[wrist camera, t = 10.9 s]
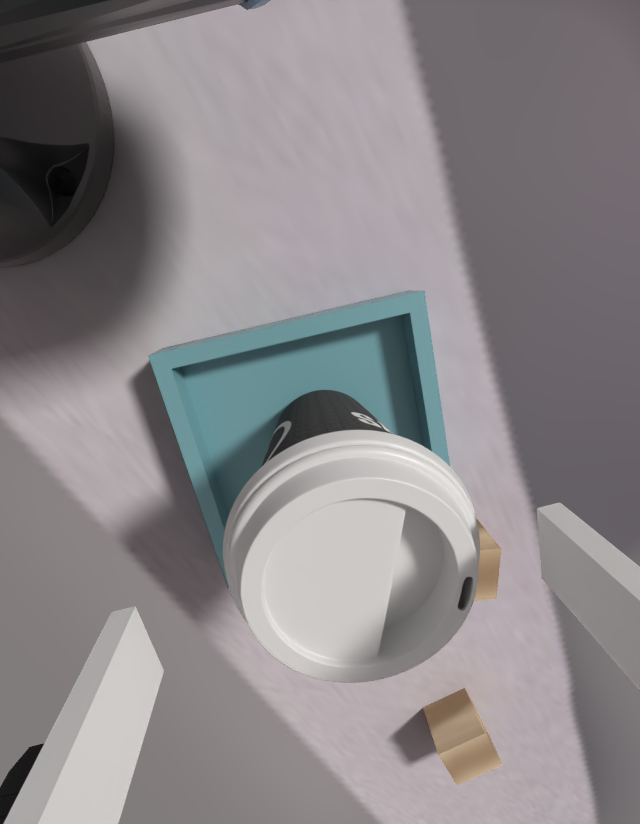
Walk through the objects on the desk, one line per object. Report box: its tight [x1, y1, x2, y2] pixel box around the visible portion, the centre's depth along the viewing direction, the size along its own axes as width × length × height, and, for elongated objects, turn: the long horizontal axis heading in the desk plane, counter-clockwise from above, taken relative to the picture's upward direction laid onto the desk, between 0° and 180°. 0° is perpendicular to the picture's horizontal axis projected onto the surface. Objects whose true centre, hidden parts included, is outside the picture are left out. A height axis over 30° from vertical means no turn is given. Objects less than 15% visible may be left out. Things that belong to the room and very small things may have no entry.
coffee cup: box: [223, 390, 480, 683], centre depth 21 cm, size 10×10×15 cm
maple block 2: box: [474, 520, 501, 601], centre depth 31 cm, size 4×4×4 cm
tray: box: [148, 290, 450, 588], centre depth 28 cm, size 16×16×3 cm
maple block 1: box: [423, 688, 502, 785], centre depth 36 cm, size 4×4×4 cm
